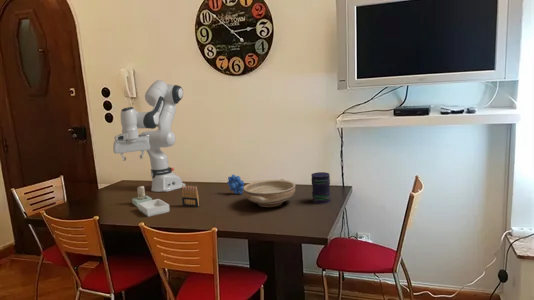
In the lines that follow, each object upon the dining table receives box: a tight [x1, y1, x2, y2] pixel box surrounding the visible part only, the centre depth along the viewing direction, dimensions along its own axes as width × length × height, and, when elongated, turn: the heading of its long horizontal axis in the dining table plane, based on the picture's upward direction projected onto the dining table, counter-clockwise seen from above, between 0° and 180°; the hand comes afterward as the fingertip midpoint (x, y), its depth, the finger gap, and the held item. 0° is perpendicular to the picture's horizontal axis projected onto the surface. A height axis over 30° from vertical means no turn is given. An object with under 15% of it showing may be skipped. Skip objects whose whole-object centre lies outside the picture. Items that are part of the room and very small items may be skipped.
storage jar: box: [311, 171, 332, 205], centre depth 225 cm, size 10×10×15 cm
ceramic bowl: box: [242, 178, 296, 208], centre depth 228 cm, size 37×29×10 cm
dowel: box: [136, 185, 146, 200], centre depth 245 cm, size 4×4×10 cm
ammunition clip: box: [181, 185, 201, 208], centre depth 233 cm, size 11×2×12 cm, turn 65°
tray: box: [137, 198, 171, 218], centre depth 229 cm, size 12×16×4 cm
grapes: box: [227, 174, 245, 195], centre depth 251 cm, size 12×7×12 cm, turn 65°
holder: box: [131, 195, 153, 208], centre depth 246 cm, size 9×9×3 cm
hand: (133, 159), depth 243 cm, fingers open, 8 cm apart
